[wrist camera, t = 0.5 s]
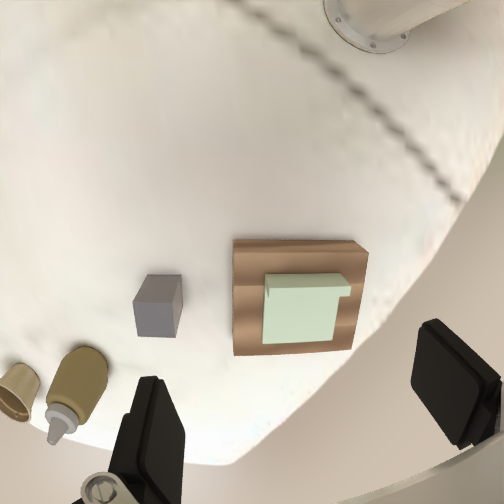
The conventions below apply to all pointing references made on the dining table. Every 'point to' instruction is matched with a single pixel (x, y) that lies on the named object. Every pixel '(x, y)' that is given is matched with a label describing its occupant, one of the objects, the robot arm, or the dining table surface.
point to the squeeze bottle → (75, 391)
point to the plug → (158, 306)
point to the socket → (293, 262)
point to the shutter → (301, 306)
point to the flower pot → (18, 393)
